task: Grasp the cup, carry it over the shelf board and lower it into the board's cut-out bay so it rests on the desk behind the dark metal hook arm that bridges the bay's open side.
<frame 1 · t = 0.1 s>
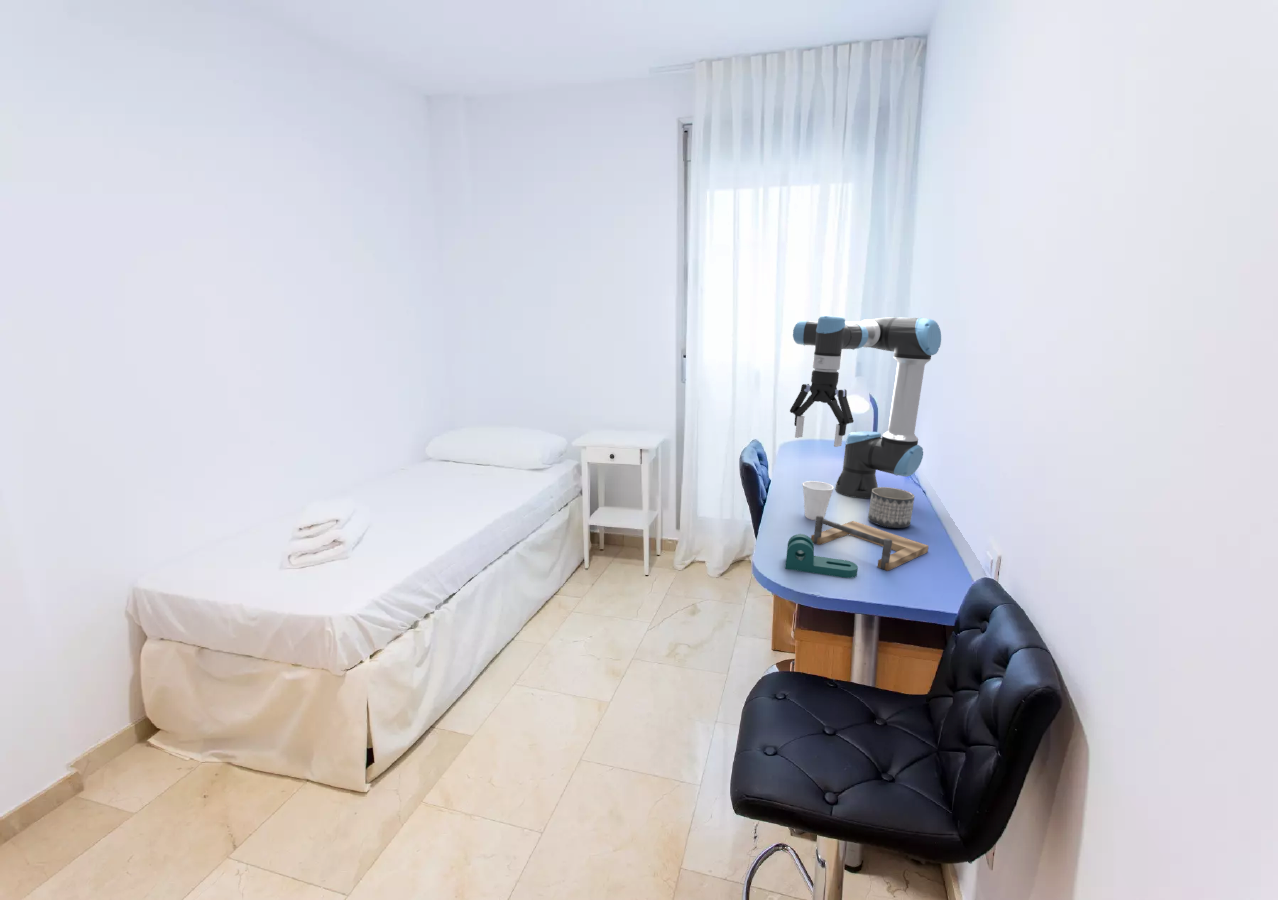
hand: (817, 441, 180), 28 cm above the table, fingers open, 13 cm apart
cup: (814, 518, 197), on the table
planter: (888, 524, 195), on the table
shelf board: (868, 546, 174), on the table
bracket: (820, 570, 158), on the table
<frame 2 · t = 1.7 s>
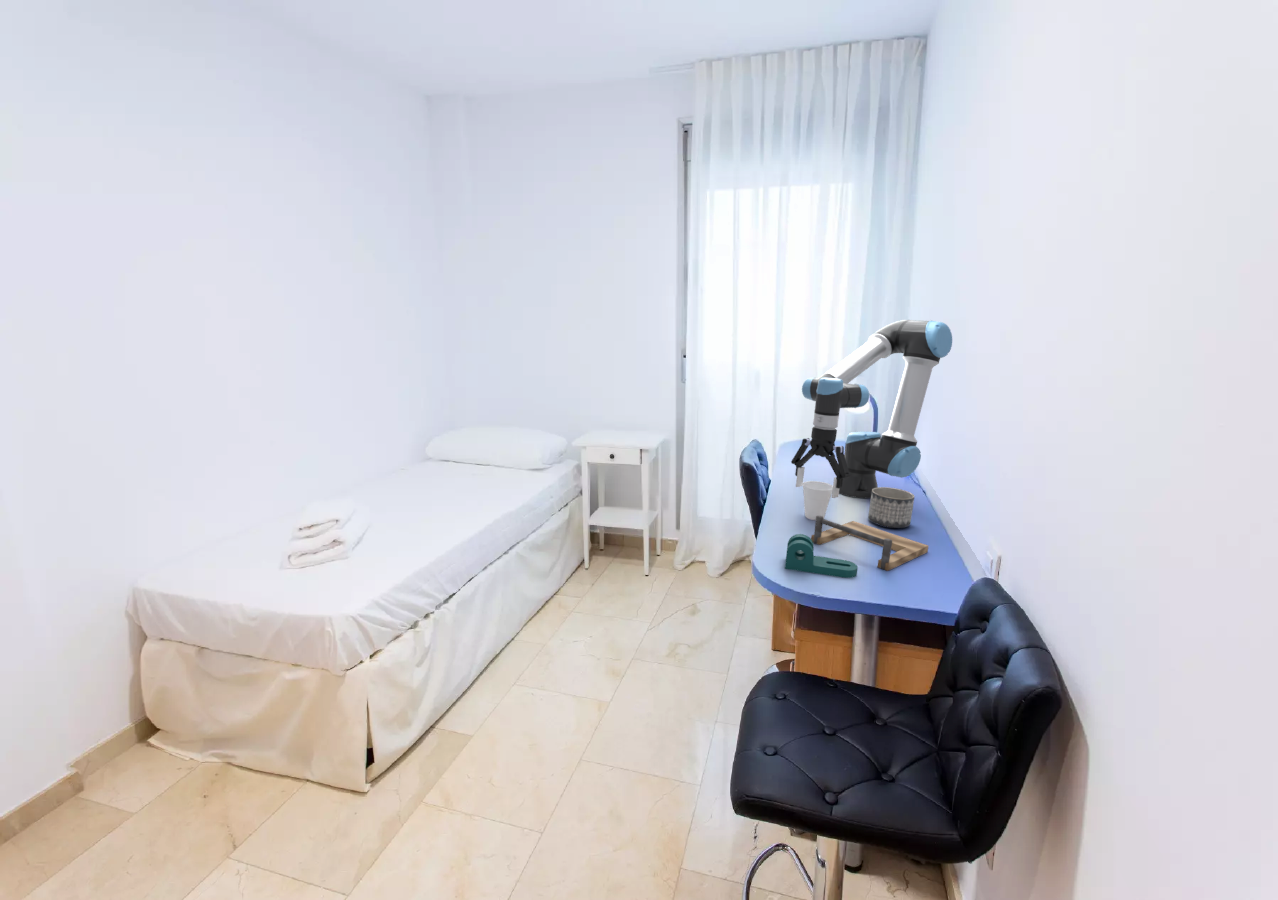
hand: (816, 491, 195), 9 cm above the table, fingers open, 13 cm apart
nothing on the table moved.
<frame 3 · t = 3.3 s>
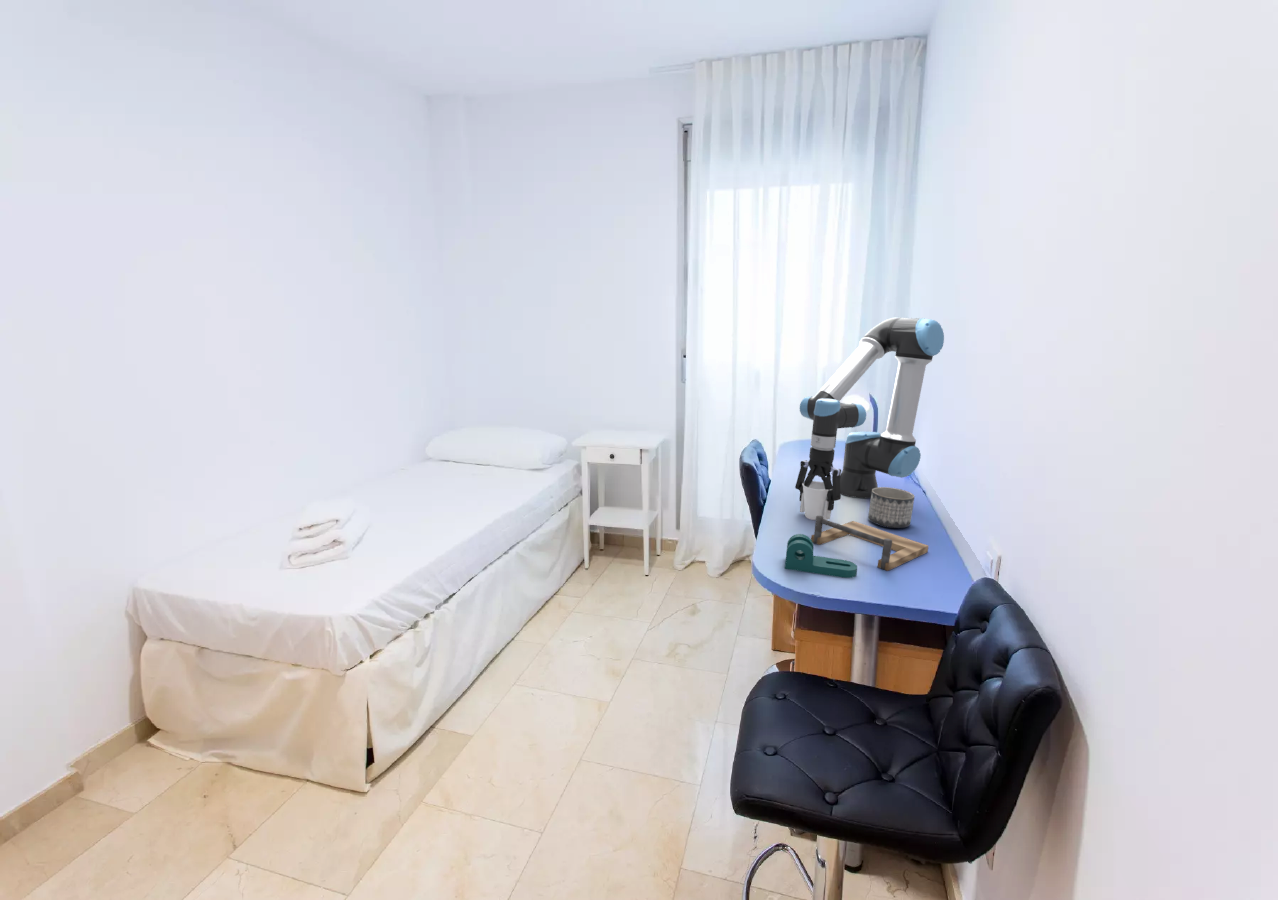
hand: (814, 515, 197), 1 cm above the table, fingers closed on cup, 8 cm apart
cup: (814, 518, 197), on the table, touching gripper
everything else where it was.
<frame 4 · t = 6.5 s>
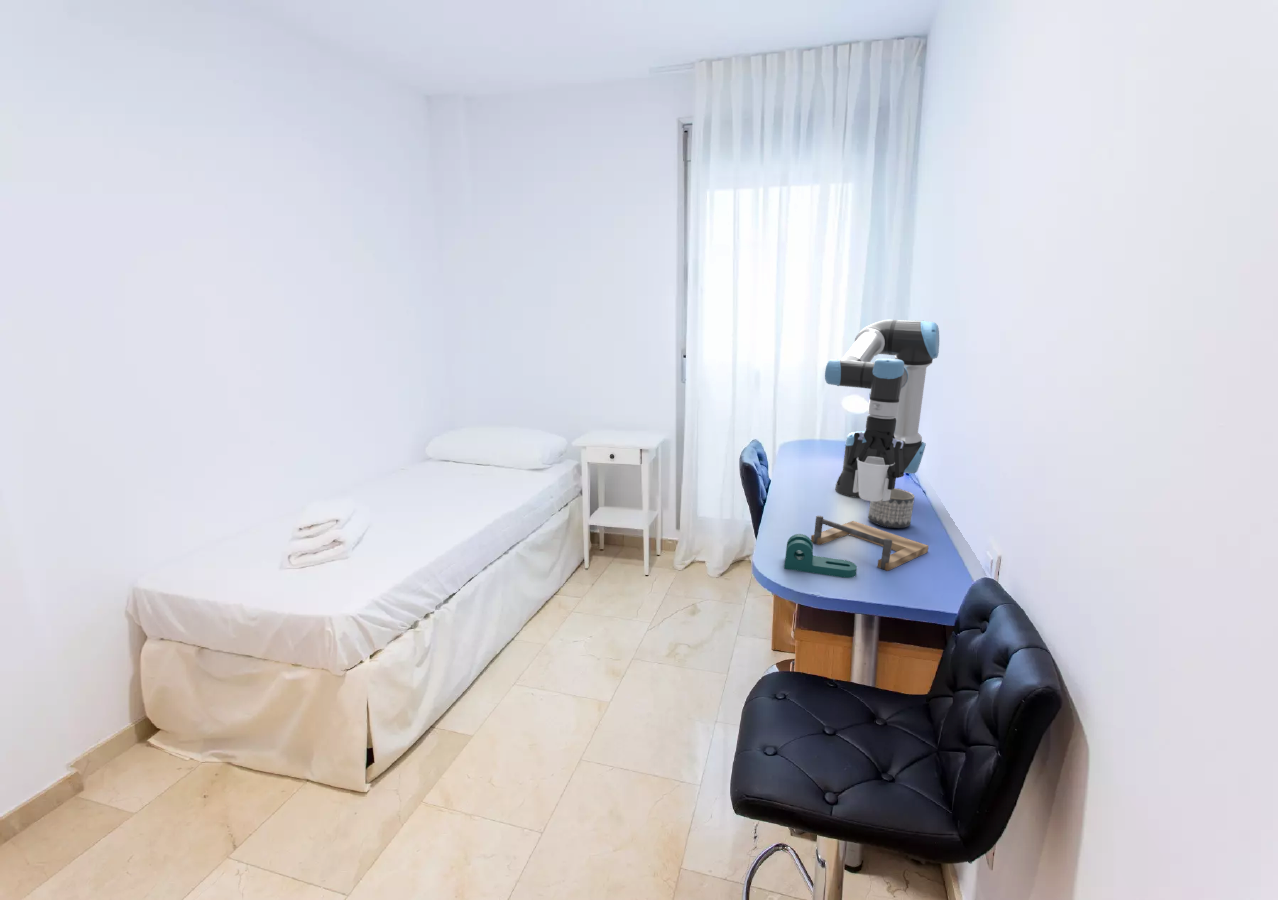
hand: (871, 495, 169), 16 cm above the table, fingers closed on cup, 8 cm apart
cup: (870, 499, 169), point 15 cm above the table, touching gripper
everything else where it was.
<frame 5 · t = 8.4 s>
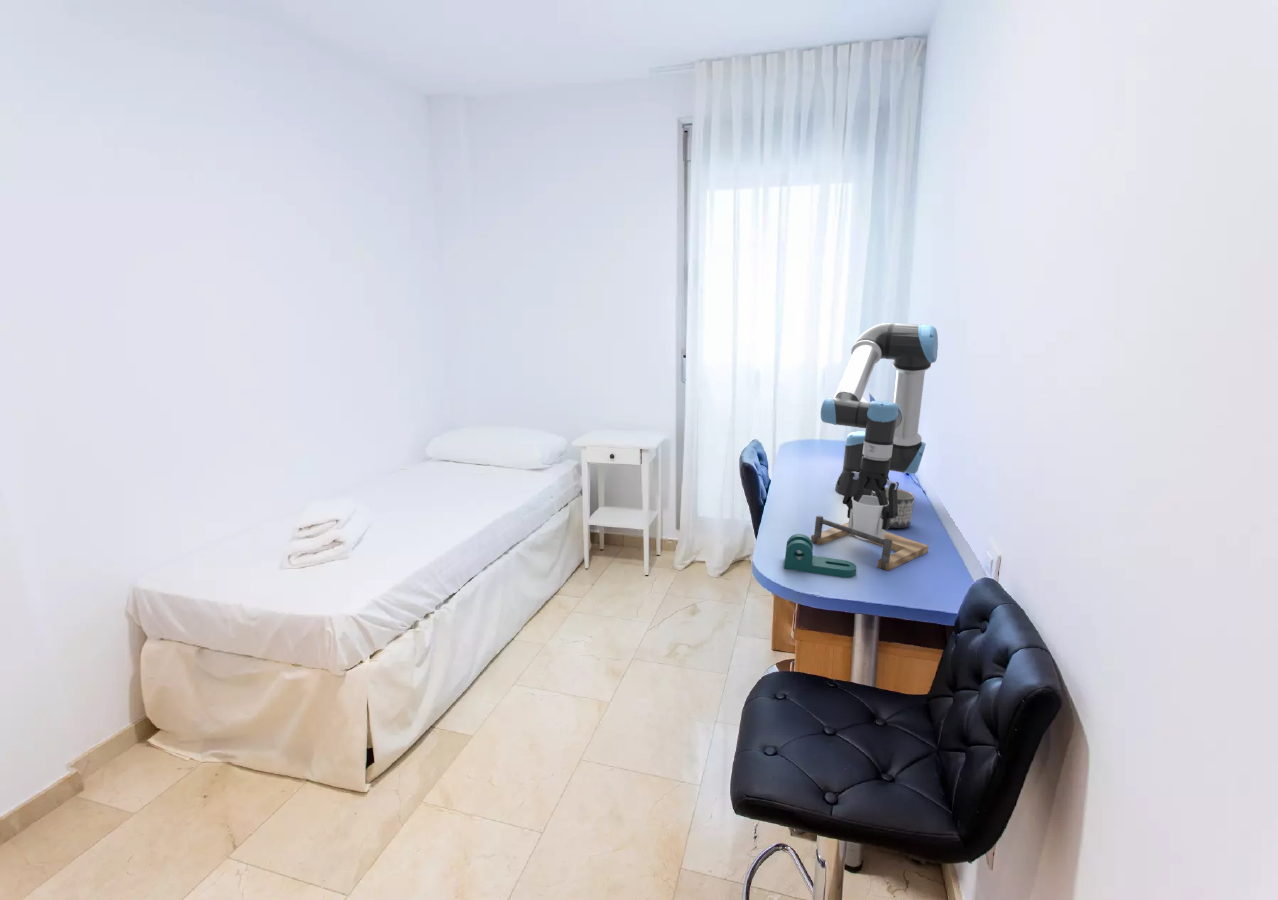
hand: (865, 534, 172), 4 cm above the table, fingers closed on cup, 8 cm apart
cup: (864, 537, 172), point 3 cm above the table, touching gripper
everything else where it was.
when the fingers open (3 cm above the table, at t = 9.7 s): cup drops 2 cm, on the table.
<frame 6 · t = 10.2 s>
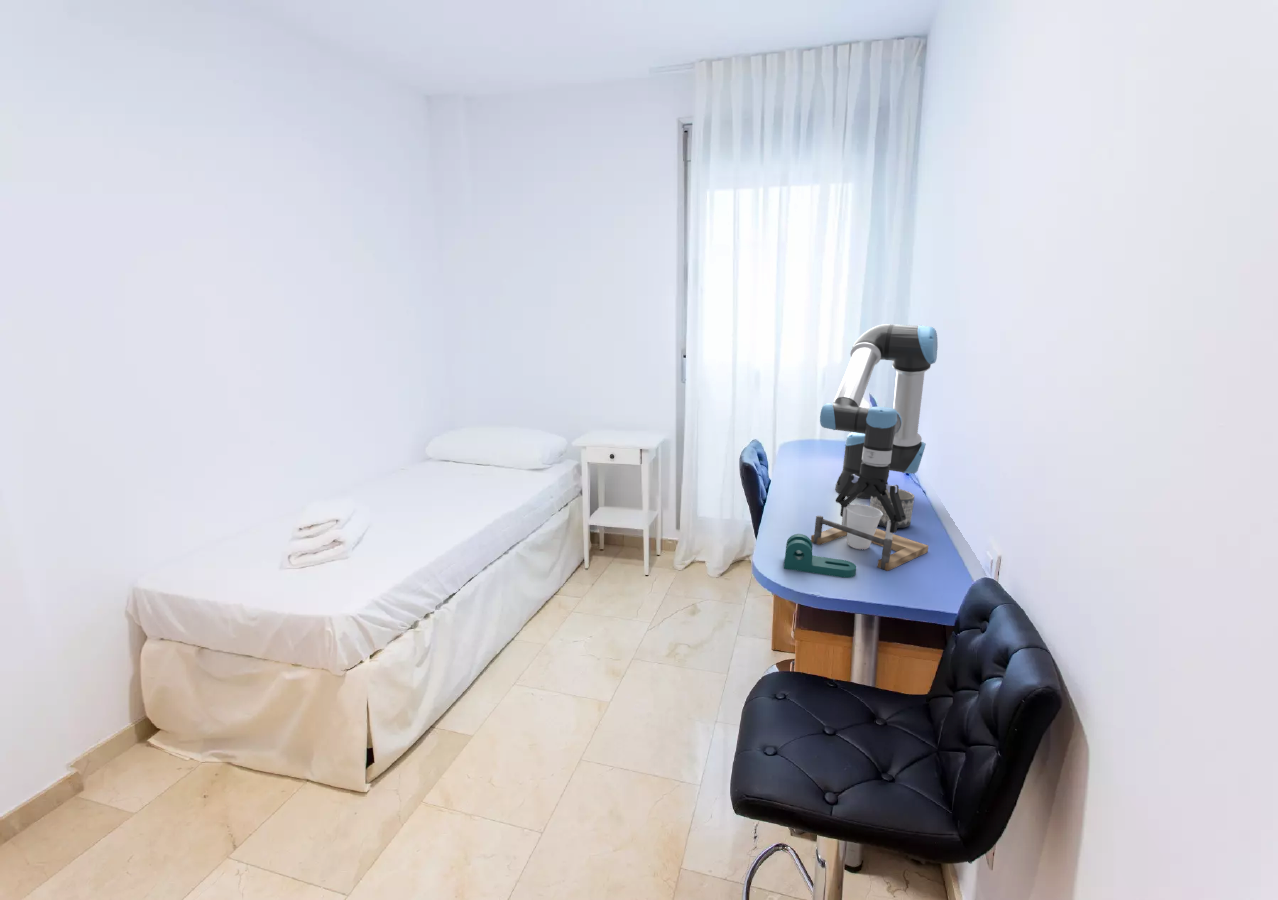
hand: (865, 535, 172), 4 cm above the table, fingers open, 13 cm apart
cup: (857, 546, 175), on the table, touching gripper
everything else where it was.
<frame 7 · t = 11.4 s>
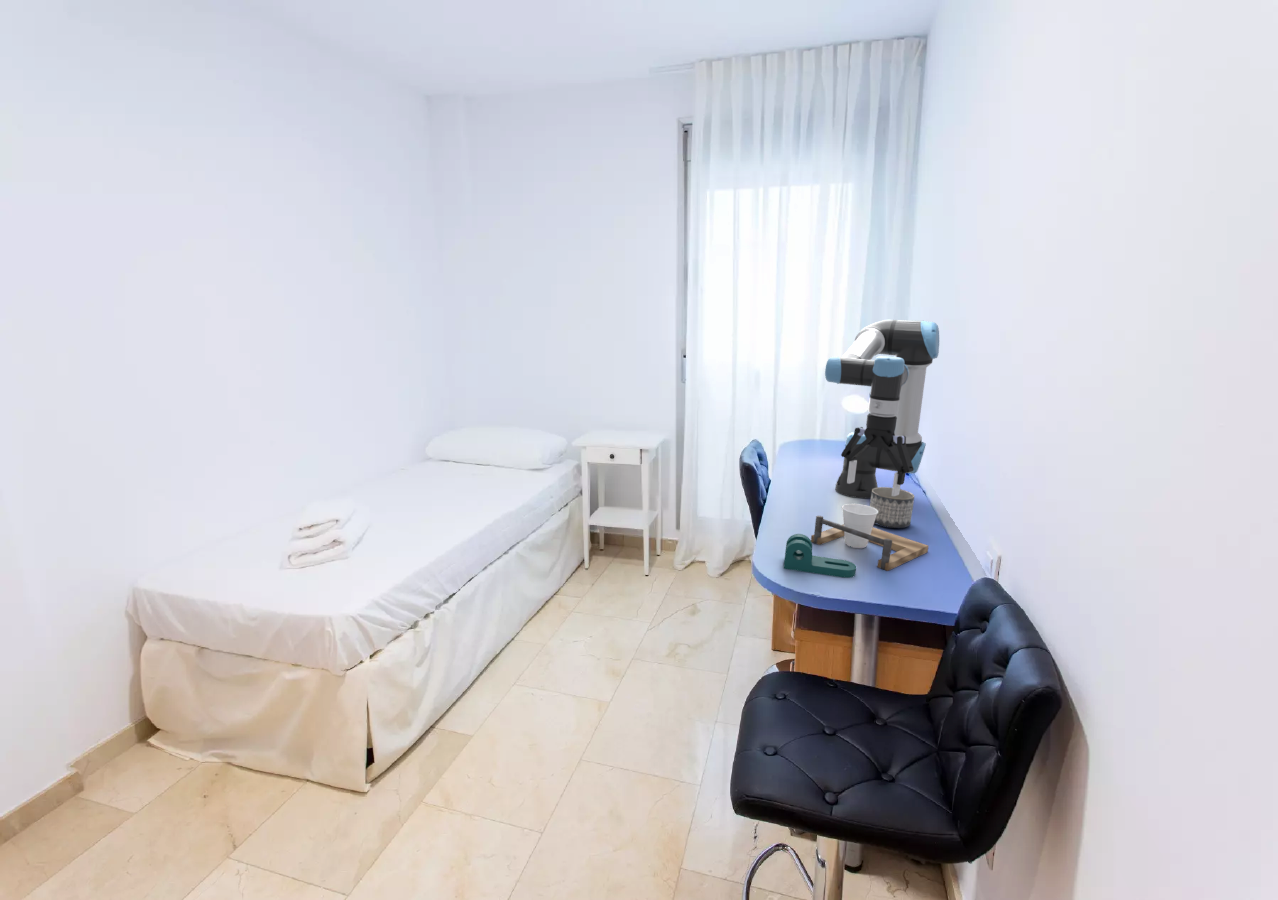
hand: (872, 488, 169), 18 cm above the table, fingers open, 13 cm apart
cup: (855, 545, 176), on the table
everything else where it was.
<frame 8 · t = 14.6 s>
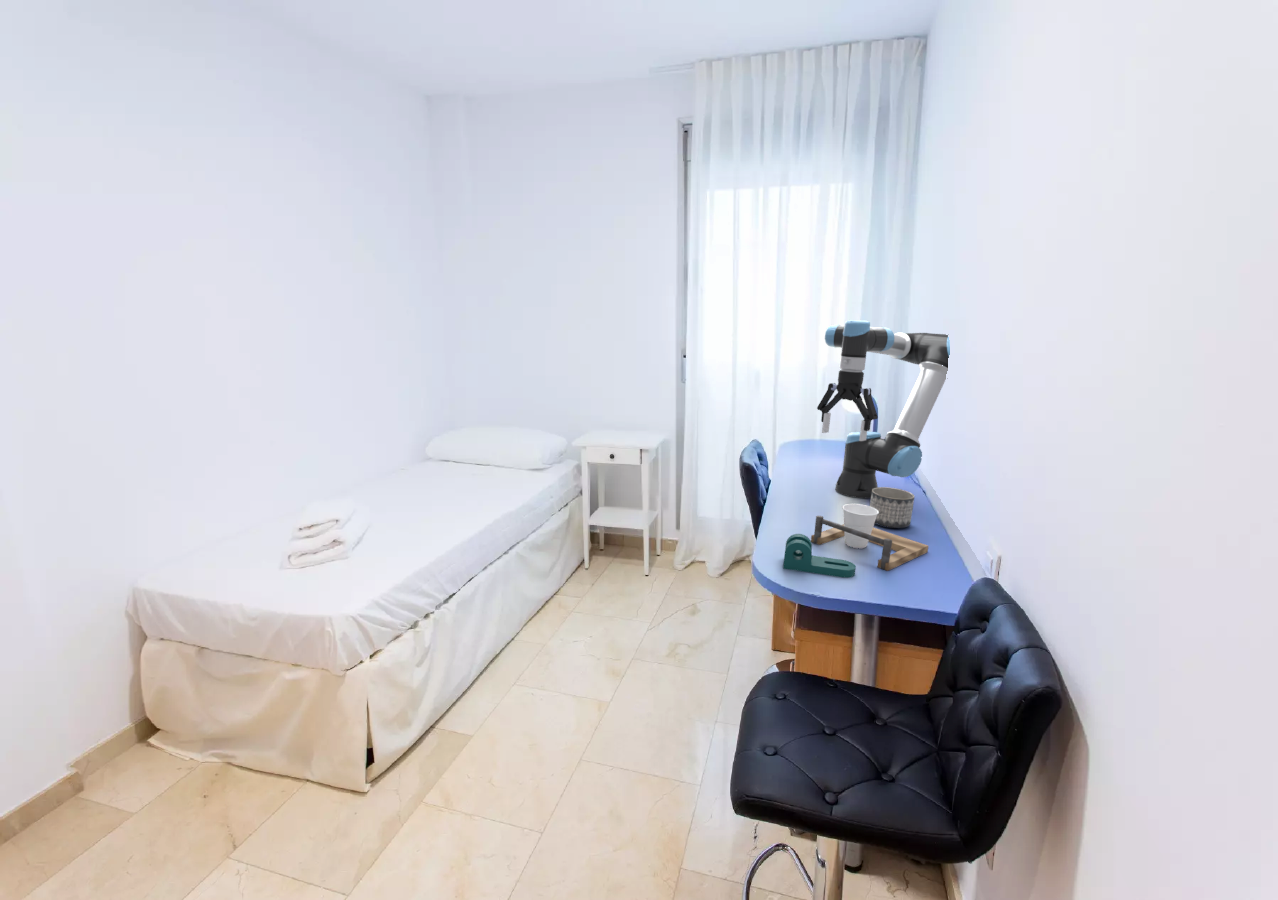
hand: (843, 436, 195), 27 cm above the table, fingers open, 13 cm apart
nothing on the table moved.
at the end: cup inside the target area on the shelf board (3.1 cm from its centre), point 0.0 cm above the shelf board's base; cup tilted 0°; the gripper is holding nothing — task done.
